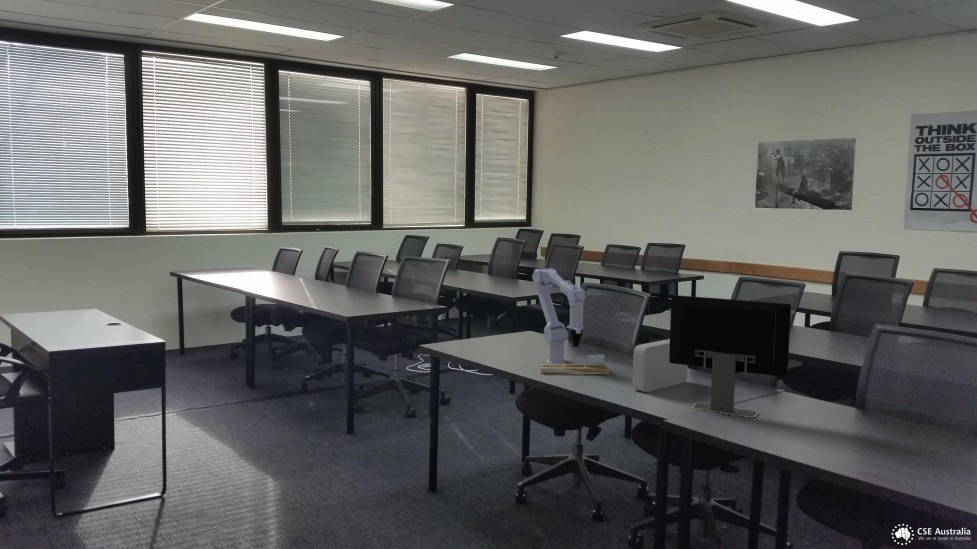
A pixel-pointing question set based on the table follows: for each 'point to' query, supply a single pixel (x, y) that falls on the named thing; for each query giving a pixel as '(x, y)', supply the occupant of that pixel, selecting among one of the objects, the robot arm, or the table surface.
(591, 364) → the brushed gray metal block
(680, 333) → the computer monitor
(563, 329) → the robot arm
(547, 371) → the rack
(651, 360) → the rounded white slab
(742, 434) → the table surface
